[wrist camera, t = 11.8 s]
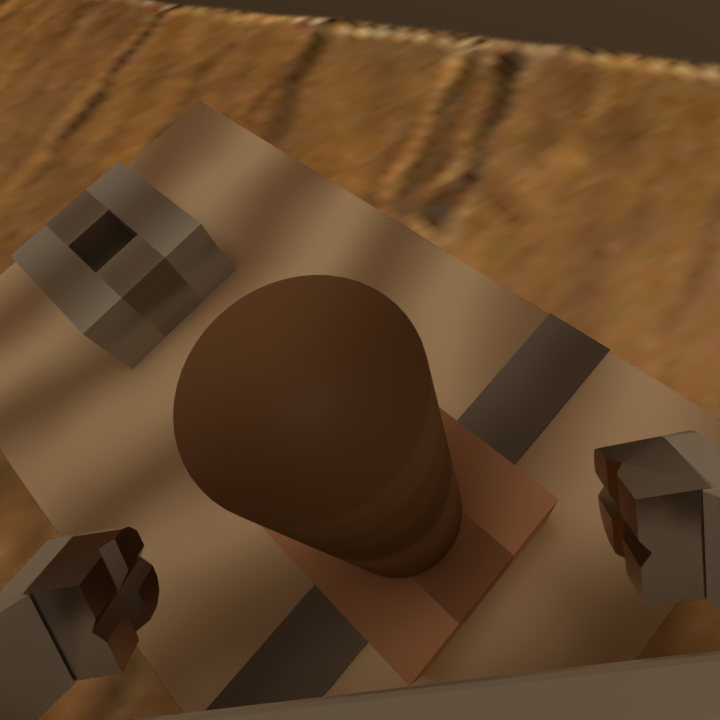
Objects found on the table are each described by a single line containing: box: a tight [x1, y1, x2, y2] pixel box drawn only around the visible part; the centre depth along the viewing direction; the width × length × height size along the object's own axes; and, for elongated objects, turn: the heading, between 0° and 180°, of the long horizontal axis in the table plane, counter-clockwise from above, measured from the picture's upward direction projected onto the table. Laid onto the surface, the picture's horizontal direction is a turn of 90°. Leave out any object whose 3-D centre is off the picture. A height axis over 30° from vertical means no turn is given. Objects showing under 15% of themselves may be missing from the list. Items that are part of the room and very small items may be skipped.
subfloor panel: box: [0, 101, 720, 713], centre depth 21 cm, size 30×18×5 cm, turn 47°
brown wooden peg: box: [173, 275, 462, 578], centre depth 13 cm, size 4×4×12 cm
